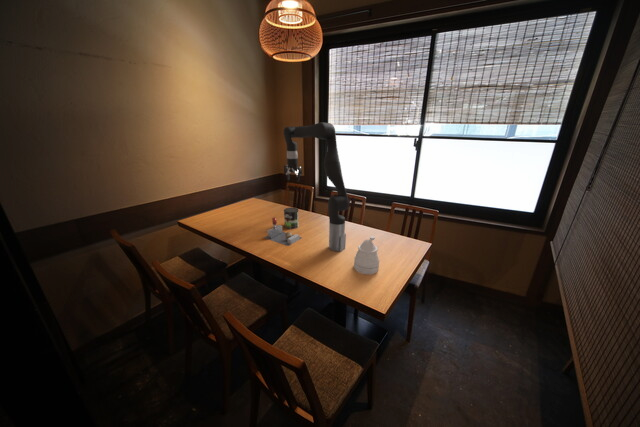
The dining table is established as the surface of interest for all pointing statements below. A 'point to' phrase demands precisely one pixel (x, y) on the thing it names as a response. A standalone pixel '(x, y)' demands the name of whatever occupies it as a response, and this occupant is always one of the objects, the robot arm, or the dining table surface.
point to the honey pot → (367, 257)
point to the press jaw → (274, 229)
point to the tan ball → (288, 234)
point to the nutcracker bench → (284, 239)
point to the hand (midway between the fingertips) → (293, 180)
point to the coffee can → (291, 218)
